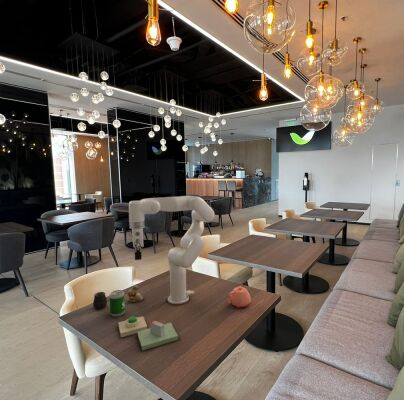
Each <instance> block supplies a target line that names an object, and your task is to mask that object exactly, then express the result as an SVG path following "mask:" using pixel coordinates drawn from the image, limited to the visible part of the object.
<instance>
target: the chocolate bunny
mask: <svg viewBox="0 0 404 400" xmlns="http://www.w3.org/2000/svg"><path fill="white" fill-rule="evenodd" d="M138 289H139V286H138V285H136V284H133V286H132V287H131V288H130V289H128V290H127V294H126V295H127V296H128V299H129V302H130V303H138V302H141V301H143V300H144V297H143V295H142V294H141V293H139V292H138Z"/></svg>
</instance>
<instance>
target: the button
mask: <svg viewBox="0 0 404 400" xmlns="http://www.w3.org/2000/svg"><path fill="white" fill-rule="evenodd" d="M136 317H137V316H135V315H132V316H129V317H128V318H127V319H128V321H129V323H134V322H136Z"/></svg>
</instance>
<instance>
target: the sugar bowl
mask: <svg viewBox="0 0 404 400" xmlns="http://www.w3.org/2000/svg"><path fill="white" fill-rule="evenodd" d="M251 301H252V299H251V295H250V293H249V291H248V289H247V288H246V287H243V286H241V285H239V286H237V287H234V288H233V289H232V291H230V292H229V293H228V300H227V303H228V304H231V305H232V306H234V307H236V308H238V309H240V308H244V307H245V308H246V307H247V306H249V305H250V303H252V302H251Z"/></svg>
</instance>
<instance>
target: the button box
mask: <svg viewBox="0 0 404 400" xmlns="http://www.w3.org/2000/svg"><path fill="white" fill-rule="evenodd" d="M135 317H136V322H134V323H129V321H128V319H129V318H127V319H125V320H122V321H119V322H118V330H119V331H118V332H119V335H120V338H124V337H128V336H131V335H135V334H136V335H137V332H138V331H141V330H145V329H148V324H147V322H146V319H145V317H144V316H139V317H137V316H135Z"/></svg>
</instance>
